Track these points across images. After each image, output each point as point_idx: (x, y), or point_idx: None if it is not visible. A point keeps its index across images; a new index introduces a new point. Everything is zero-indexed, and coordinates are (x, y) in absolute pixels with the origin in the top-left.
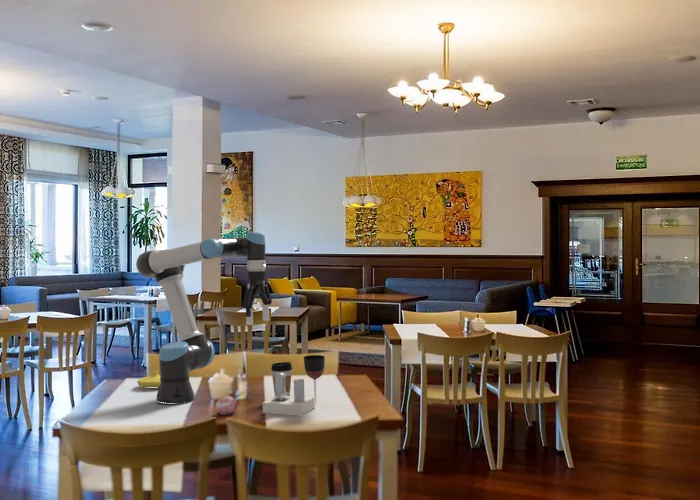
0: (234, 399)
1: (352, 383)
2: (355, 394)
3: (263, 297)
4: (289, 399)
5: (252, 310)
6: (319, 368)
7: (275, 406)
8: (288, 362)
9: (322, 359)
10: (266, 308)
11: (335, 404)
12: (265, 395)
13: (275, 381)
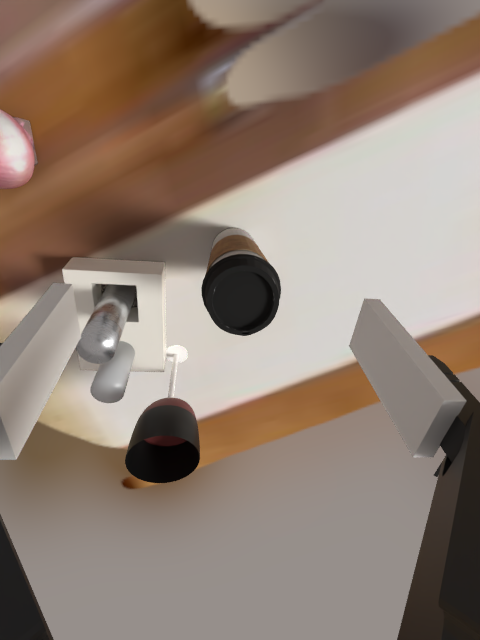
0: (7, 181)
1: (433, 354)
2: (313, 390)
3: (430, 544)
4: (126, 324)
5: (19, 438)
6: (146, 450)
7: None
8: (266, 319)
9: (152, 478)
10: (401, 410)
11: (213, 382)
12: (280, 170)
13: (85, 326)
